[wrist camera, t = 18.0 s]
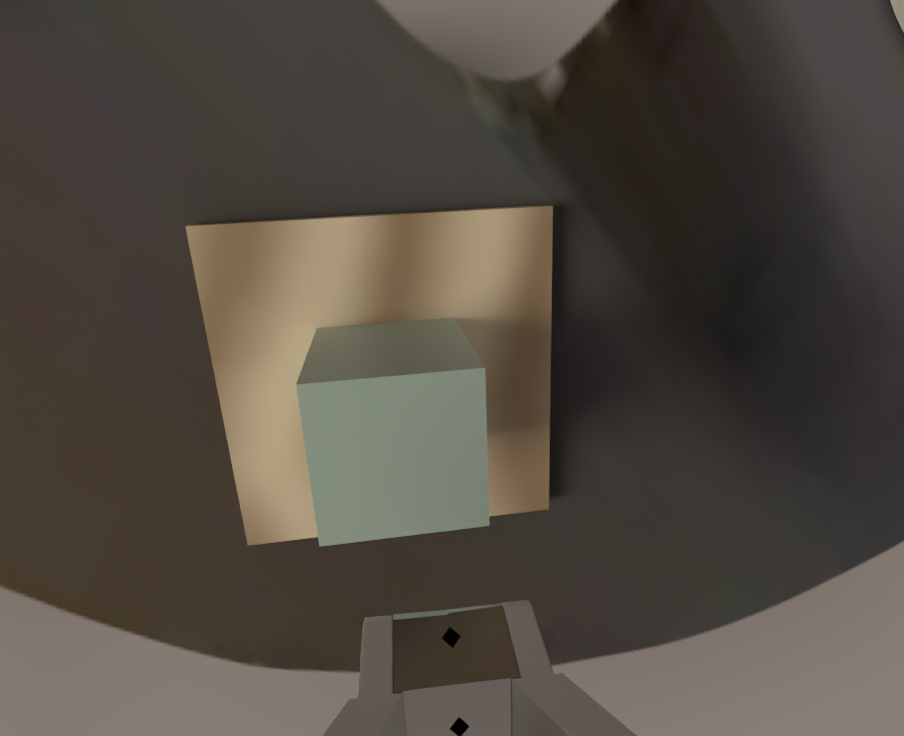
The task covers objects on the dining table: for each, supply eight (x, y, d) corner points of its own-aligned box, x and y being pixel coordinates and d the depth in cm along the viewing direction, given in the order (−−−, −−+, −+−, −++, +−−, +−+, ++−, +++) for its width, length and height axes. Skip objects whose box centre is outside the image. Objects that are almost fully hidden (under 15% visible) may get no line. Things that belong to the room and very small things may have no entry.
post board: (545, 205, 23) (612, 214, 17) (542, 497, 28) (594, 593, 21) (193, 224, 21) (118, 242, 15) (252, 532, 26) (214, 646, 20)
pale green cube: (454, 317, 23) (485, 367, 17) (459, 439, 25) (489, 525, 19) (316, 328, 22) (295, 384, 16) (332, 452, 24) (319, 546, 18)
